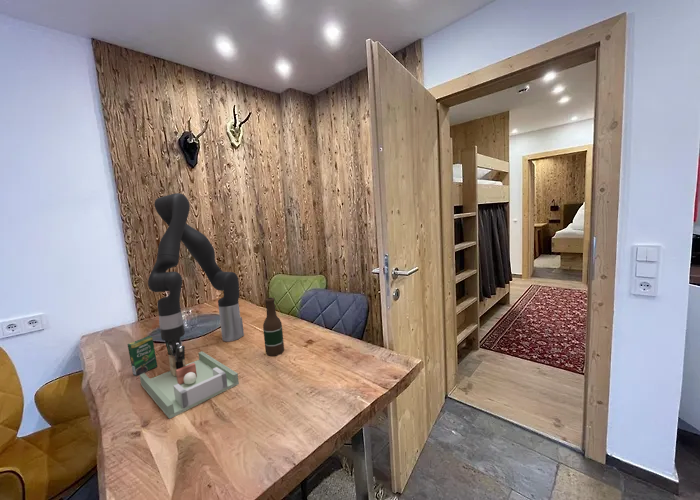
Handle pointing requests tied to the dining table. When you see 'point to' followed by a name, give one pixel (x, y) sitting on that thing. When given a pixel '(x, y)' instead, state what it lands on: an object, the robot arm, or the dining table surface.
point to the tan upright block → (181, 369)
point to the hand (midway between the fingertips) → (177, 367)
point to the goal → (200, 389)
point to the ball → (190, 378)
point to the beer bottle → (272, 330)
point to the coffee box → (142, 355)
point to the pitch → (184, 384)
